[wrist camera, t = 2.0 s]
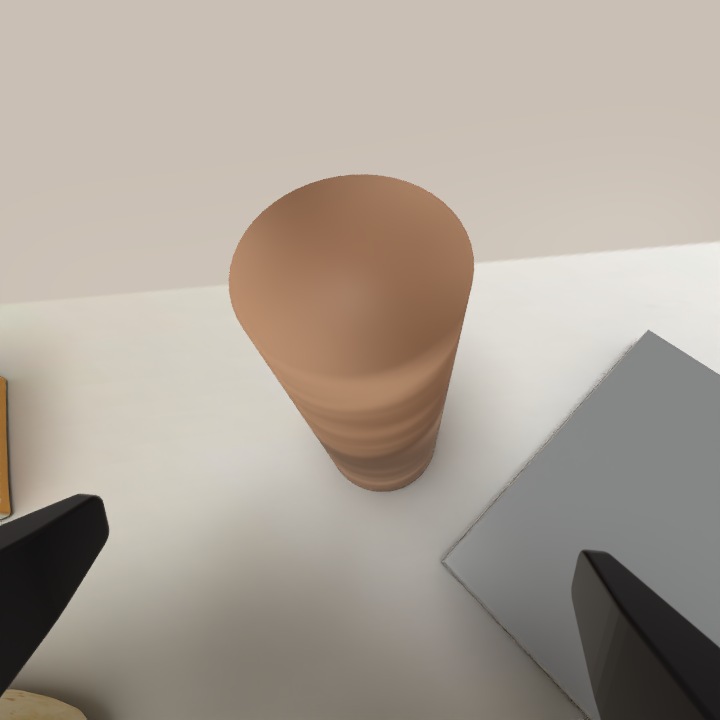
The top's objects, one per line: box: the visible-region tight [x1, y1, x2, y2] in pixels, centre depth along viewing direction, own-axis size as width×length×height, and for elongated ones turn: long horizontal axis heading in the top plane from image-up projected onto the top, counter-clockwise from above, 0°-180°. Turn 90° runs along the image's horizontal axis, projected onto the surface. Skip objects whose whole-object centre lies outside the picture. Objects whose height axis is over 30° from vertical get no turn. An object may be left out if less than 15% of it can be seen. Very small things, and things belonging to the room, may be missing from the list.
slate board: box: [441, 330, 720, 720], centre depth 17 cm, size 14×10×2 cm
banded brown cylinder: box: [229, 175, 474, 492], centre depth 15 cm, size 5×5×13 cm
